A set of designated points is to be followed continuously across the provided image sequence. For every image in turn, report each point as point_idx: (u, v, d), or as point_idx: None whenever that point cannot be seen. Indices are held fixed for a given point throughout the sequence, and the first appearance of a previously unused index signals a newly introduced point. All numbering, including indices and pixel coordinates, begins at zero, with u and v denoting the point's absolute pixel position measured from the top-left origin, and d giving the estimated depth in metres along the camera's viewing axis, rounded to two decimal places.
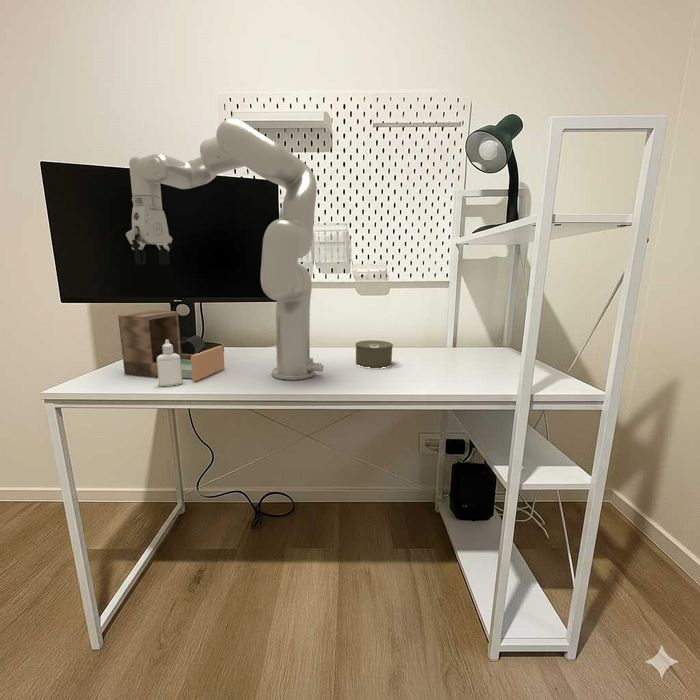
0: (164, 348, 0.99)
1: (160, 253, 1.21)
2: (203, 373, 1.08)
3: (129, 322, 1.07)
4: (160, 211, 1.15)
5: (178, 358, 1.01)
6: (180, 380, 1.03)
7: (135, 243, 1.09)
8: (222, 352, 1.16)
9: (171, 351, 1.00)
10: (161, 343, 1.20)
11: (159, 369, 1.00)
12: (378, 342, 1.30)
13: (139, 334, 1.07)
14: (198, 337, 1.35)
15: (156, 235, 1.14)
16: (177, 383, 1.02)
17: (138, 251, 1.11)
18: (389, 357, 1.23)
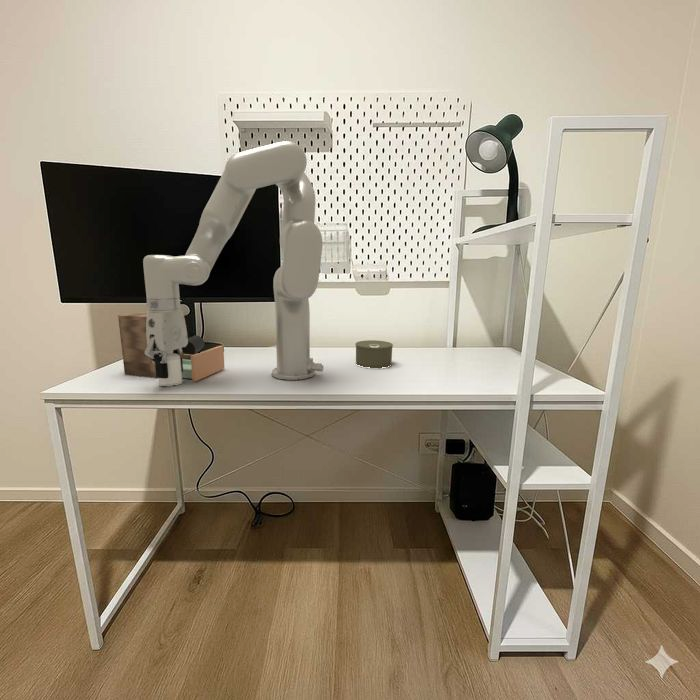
0: None
1: None
2: (203, 373, 1.08)
3: (129, 322, 1.07)
4: (178, 312, 1.00)
5: (178, 358, 1.01)
6: (180, 380, 1.03)
7: (157, 358, 0.96)
8: (222, 352, 1.16)
9: (171, 351, 1.00)
10: None
11: None
12: (378, 342, 1.30)
13: (139, 334, 1.07)
14: (198, 337, 1.35)
15: (174, 341, 0.99)
16: (177, 383, 1.02)
17: (160, 365, 0.98)
18: (389, 357, 1.23)
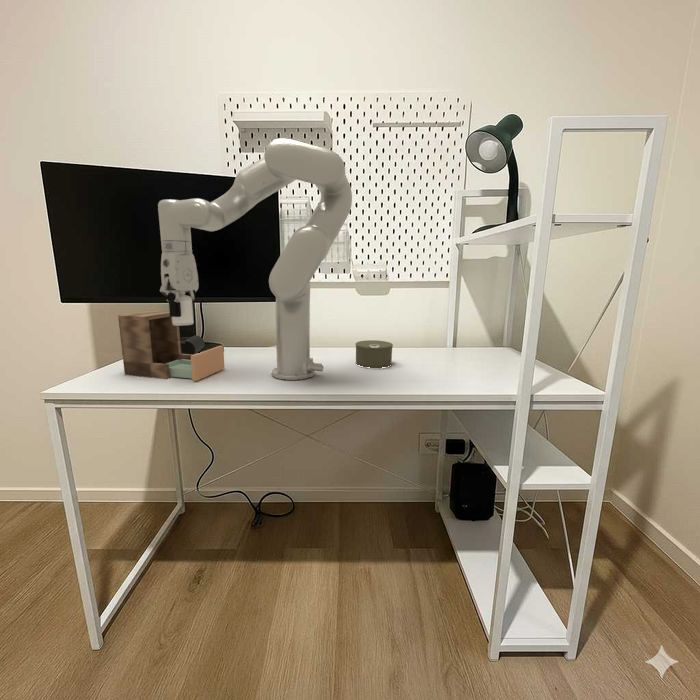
0: None
1: None
2: (203, 373, 1.08)
3: (129, 322, 1.07)
4: (190, 255, 1.07)
5: (190, 299, 1.09)
6: (192, 321, 1.10)
7: (171, 296, 1.04)
8: (222, 352, 1.16)
9: (183, 292, 1.08)
10: (161, 343, 1.20)
11: None
12: (378, 342, 1.30)
13: (139, 334, 1.07)
14: (198, 337, 1.35)
15: (186, 282, 1.06)
16: (189, 323, 1.10)
17: (173, 304, 1.05)
18: (389, 357, 1.23)
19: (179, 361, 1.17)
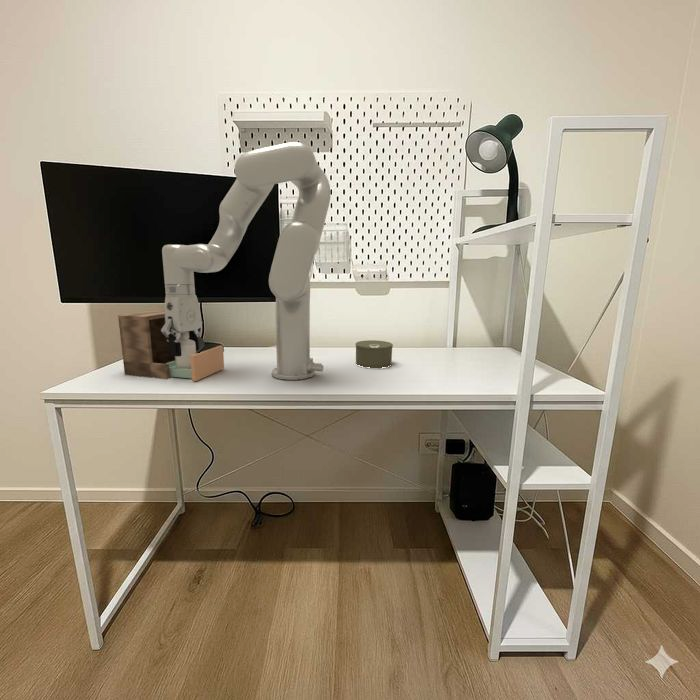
0: (181, 334, 1.10)
1: None
2: (203, 373, 1.08)
3: (129, 322, 1.07)
4: (193, 297, 1.10)
5: (193, 343, 1.12)
6: None
7: (171, 337, 1.05)
8: (221, 352, 1.16)
9: (187, 337, 1.11)
10: (161, 343, 1.20)
11: None
12: (378, 342, 1.30)
13: (139, 334, 1.07)
14: (198, 337, 1.35)
15: (189, 323, 1.09)
16: None
17: (174, 344, 1.07)
18: (389, 357, 1.23)
19: None
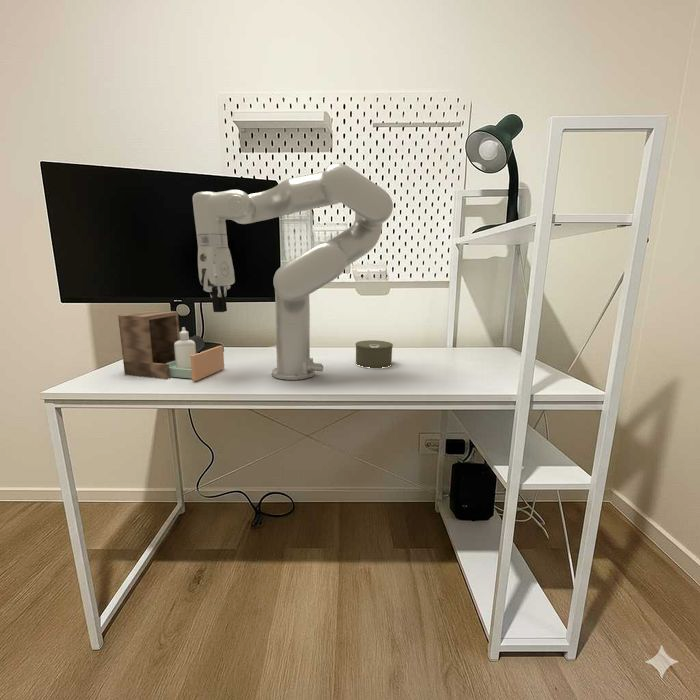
0: (181, 335, 1.10)
1: None
2: (203, 373, 1.08)
3: (129, 322, 1.07)
4: (226, 249, 1.04)
5: (193, 344, 1.12)
6: None
7: (214, 291, 1.03)
8: (221, 352, 1.16)
9: (187, 337, 1.11)
10: (161, 343, 1.20)
11: (176, 354, 1.10)
12: (378, 342, 1.30)
13: (139, 334, 1.07)
14: (198, 337, 1.35)
15: (223, 276, 1.03)
16: None
17: (217, 299, 1.05)
18: (389, 357, 1.23)
19: None
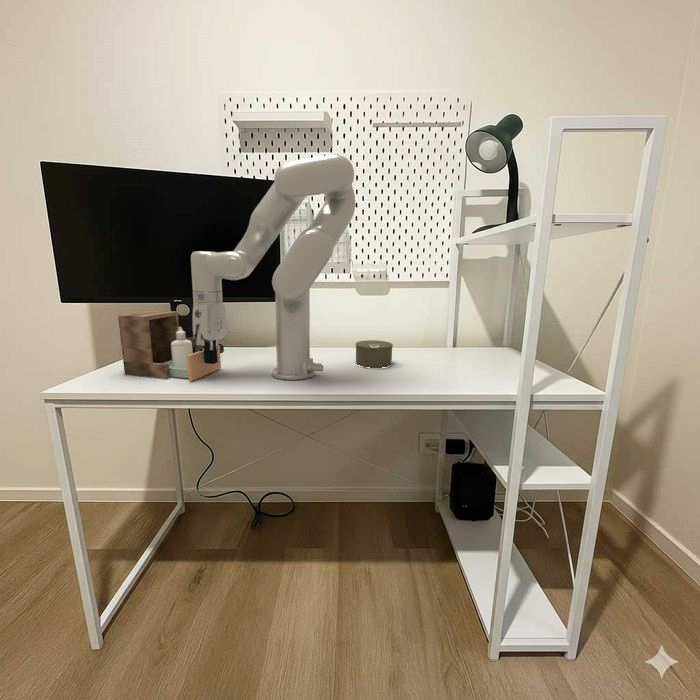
0: (177, 334, 1.10)
1: None
2: (199, 373, 1.08)
3: (129, 322, 1.07)
4: (220, 304, 1.08)
5: (190, 344, 1.12)
6: None
7: (207, 345, 1.06)
8: (218, 351, 1.16)
9: (184, 337, 1.11)
10: (161, 343, 1.20)
11: (173, 353, 1.10)
12: (378, 342, 1.30)
13: (139, 334, 1.07)
14: None
15: (216, 330, 1.07)
16: None
17: (209, 351, 1.08)
18: (389, 357, 1.23)
19: None
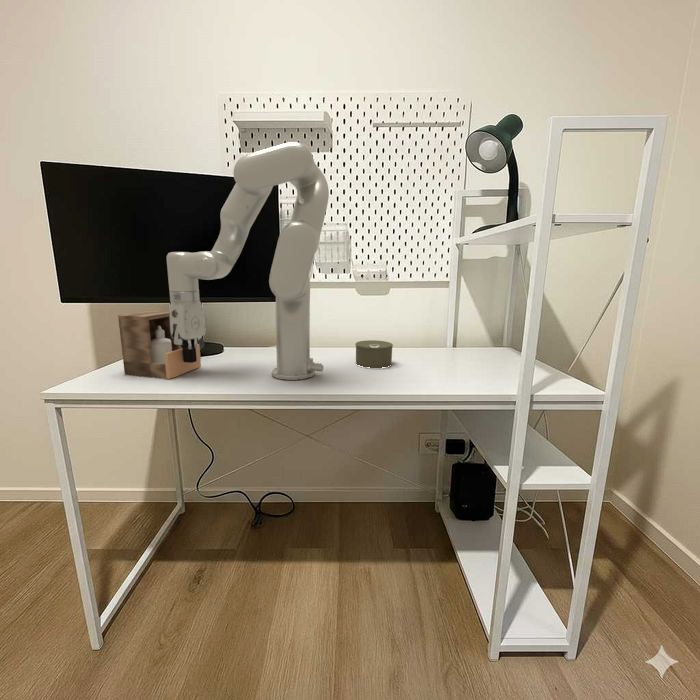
0: (156, 333, 1.12)
1: None
2: (178, 371, 1.10)
3: (129, 322, 1.07)
4: (197, 303, 1.10)
5: (169, 342, 1.13)
6: None
7: (185, 344, 1.08)
8: (198, 350, 1.18)
9: (163, 336, 1.13)
10: None
11: (152, 352, 1.12)
12: (378, 342, 1.30)
13: (139, 334, 1.07)
14: None
15: (194, 330, 1.09)
16: None
17: (187, 351, 1.10)
18: (389, 357, 1.23)
19: None
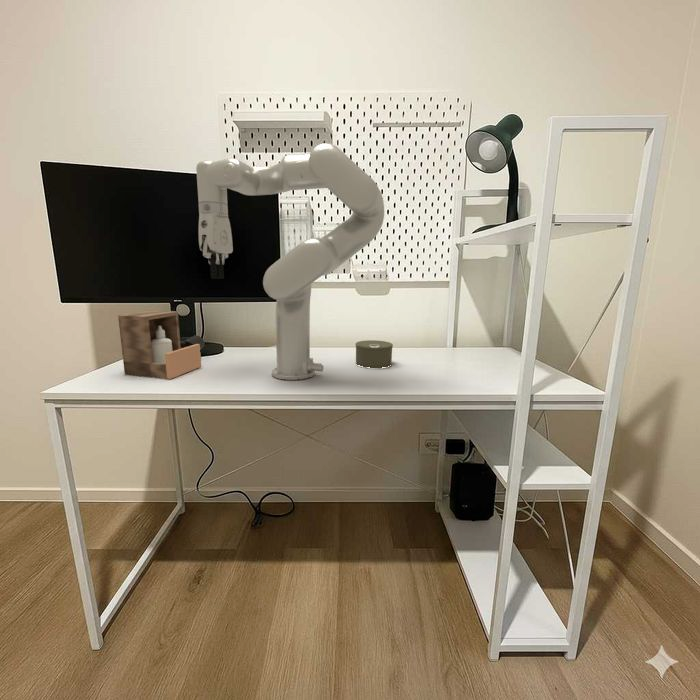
0: (157, 333, 1.12)
1: None
2: (178, 371, 1.10)
3: (129, 322, 1.07)
4: (226, 218, 1.09)
5: (169, 342, 1.13)
6: None
7: (213, 258, 1.07)
8: (198, 350, 1.18)
9: (163, 336, 1.13)
10: None
11: (152, 352, 1.12)
12: (378, 342, 1.30)
13: (139, 334, 1.07)
14: (198, 337, 1.35)
15: (222, 244, 1.08)
16: None
17: (215, 266, 1.09)
18: (389, 357, 1.23)
19: None
